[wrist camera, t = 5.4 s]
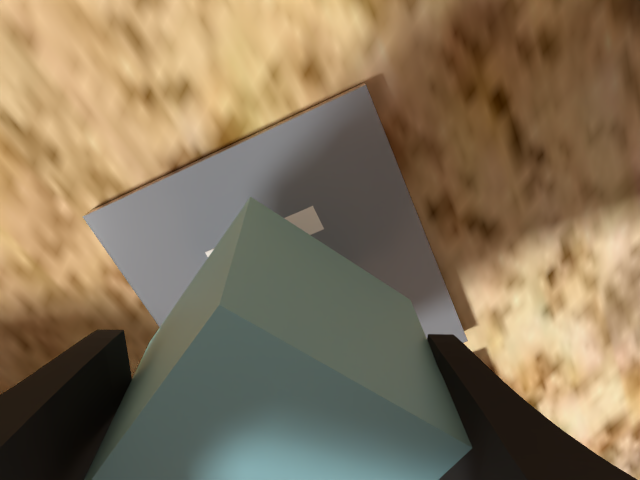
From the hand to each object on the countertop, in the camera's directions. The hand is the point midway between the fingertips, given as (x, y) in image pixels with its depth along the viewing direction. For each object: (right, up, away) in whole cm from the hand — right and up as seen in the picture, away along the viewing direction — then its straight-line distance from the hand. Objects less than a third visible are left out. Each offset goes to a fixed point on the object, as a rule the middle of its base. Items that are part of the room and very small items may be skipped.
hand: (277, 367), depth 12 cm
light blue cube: (0, +1, +1) cm, 2 cm away
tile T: (0, +2, +4) cm, 5 cm away
